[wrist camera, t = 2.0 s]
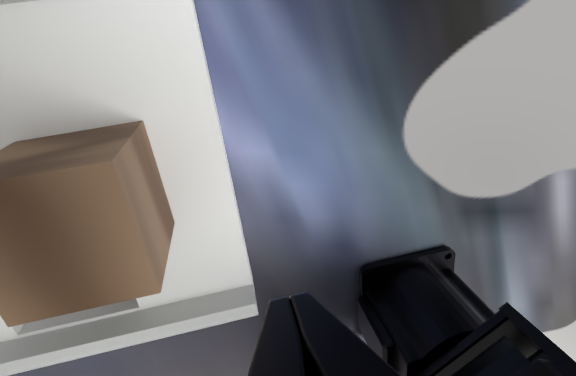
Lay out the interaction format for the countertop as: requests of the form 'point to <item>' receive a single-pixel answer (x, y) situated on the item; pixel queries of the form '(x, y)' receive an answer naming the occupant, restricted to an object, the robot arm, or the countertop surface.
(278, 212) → the countertop surface
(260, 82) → the countertop surface
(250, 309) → the board
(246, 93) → the countertop surface
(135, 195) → the block
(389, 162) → the countertop surface
